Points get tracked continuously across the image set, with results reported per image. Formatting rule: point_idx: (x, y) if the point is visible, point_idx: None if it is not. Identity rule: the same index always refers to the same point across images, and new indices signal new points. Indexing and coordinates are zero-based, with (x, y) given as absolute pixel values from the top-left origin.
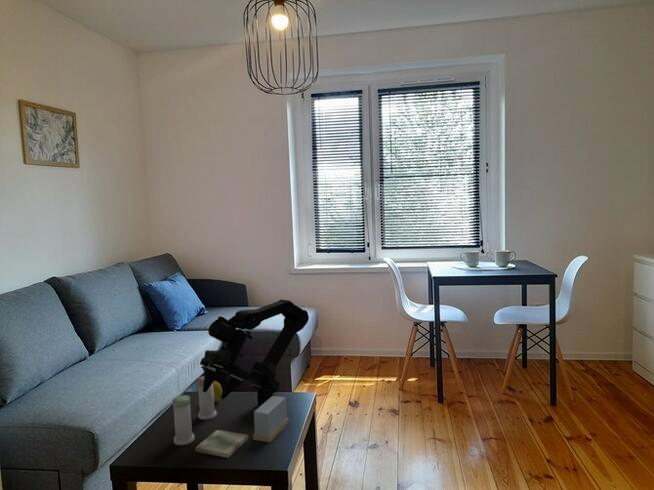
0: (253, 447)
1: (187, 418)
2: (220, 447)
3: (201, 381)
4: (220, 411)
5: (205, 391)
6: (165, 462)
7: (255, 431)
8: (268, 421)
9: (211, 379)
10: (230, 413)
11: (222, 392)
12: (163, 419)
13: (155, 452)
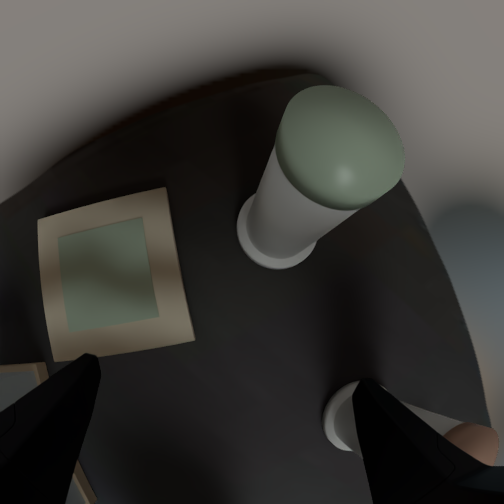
0: (16, 316)
1: (260, 185)
2: (77, 233)
3: (466, 439)
4: (337, 463)
5: (354, 396)
6: (210, 111)
7: (26, 372)
8: None
9: (390, 494)
10: (287, 477)
11: (69, 380)
12: (452, 295)
13: None
